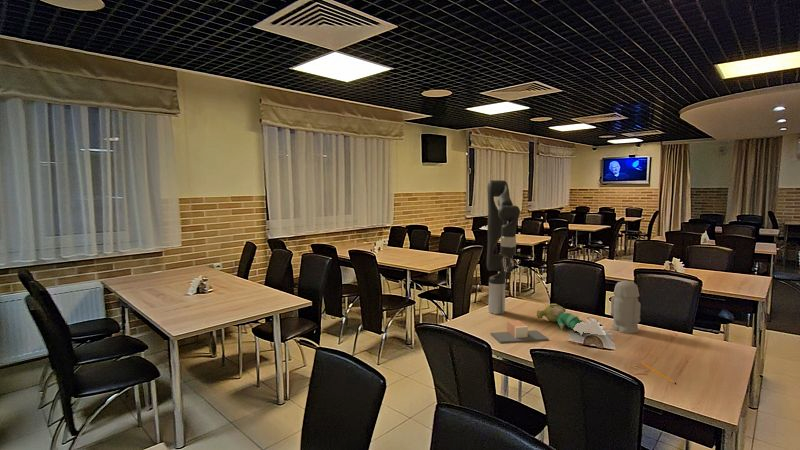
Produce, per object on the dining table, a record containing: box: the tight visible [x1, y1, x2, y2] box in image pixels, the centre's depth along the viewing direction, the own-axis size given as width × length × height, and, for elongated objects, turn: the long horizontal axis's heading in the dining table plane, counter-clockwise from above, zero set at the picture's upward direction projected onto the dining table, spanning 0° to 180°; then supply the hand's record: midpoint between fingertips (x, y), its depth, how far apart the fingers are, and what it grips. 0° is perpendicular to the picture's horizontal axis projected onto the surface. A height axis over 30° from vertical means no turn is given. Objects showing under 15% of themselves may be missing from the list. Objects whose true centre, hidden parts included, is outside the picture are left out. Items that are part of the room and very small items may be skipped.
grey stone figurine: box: [610, 280, 642, 335], centre depth 213 cm, size 15×10×25 cm
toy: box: [536, 303, 584, 331], centre depth 220 cm, size 17×10×30 cm
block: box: [506, 319, 529, 338], centre depth 206 cm, size 5×6×10 cm
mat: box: [490, 329, 549, 344], centre depth 204 cm, size 12×24×1 cm, turn 99°
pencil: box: [640, 362, 676, 384], centre depth 165 cm, size 1×19×1 cm, turn 6°
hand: (507, 279), depth 216 cm, fingers closed
